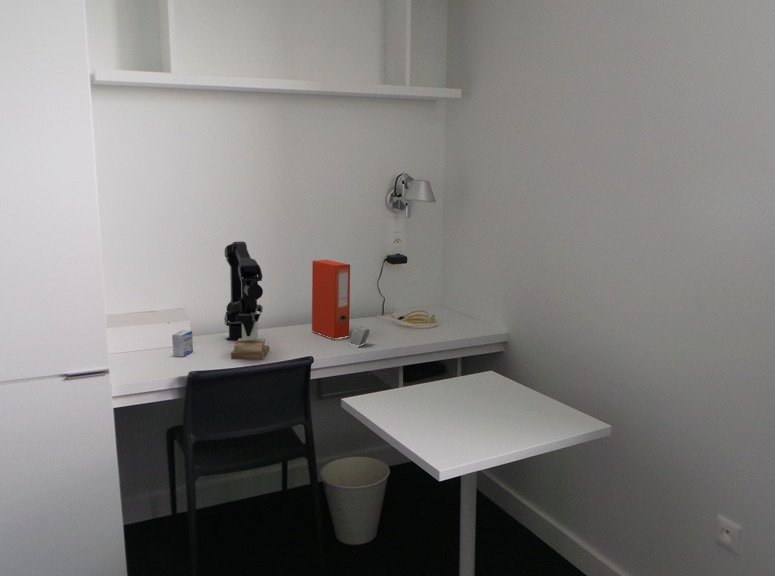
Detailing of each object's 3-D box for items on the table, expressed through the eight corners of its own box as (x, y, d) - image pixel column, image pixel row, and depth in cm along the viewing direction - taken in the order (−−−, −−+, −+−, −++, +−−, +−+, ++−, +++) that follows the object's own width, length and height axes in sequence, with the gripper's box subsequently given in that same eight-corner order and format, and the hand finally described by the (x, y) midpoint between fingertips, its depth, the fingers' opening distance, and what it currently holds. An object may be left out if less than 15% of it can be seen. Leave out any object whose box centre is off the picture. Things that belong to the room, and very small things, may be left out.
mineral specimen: (365, 347, 278) (361, 328, 277) (348, 348, 283) (344, 329, 282) (375, 343, 284) (371, 324, 283) (358, 344, 289) (354, 325, 288)
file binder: (327, 330, 309) (327, 259, 304) (349, 337, 296) (350, 264, 290) (311, 332, 304) (311, 260, 299) (334, 340, 291) (334, 265, 285)
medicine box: (183, 357, 262) (182, 335, 261) (172, 356, 263) (171, 334, 261) (193, 351, 270) (192, 330, 268) (182, 351, 271) (182, 329, 269)
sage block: (245, 335, 268) (244, 320, 267) (257, 336, 268) (257, 321, 267) (242, 339, 263) (241, 323, 262) (254, 339, 263) (254, 324, 262)
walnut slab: (238, 352, 273) (238, 344, 272) (269, 353, 272) (268, 345, 272) (231, 360, 261) (230, 353, 260) (262, 361, 260) (262, 353, 260)
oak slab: (239, 345, 271) (239, 338, 270) (264, 346, 271) (264, 338, 271) (234, 352, 261) (234, 344, 260) (260, 352, 261) (260, 345, 261)
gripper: (234, 289, 272) (235, 328, 274) (221, 298, 253) (222, 340, 256) (262, 290, 271) (263, 329, 274) (251, 299, 253) (252, 340, 256)
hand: (250, 334), depth 265 cm, fingers closed on sage block, 5 cm apart
